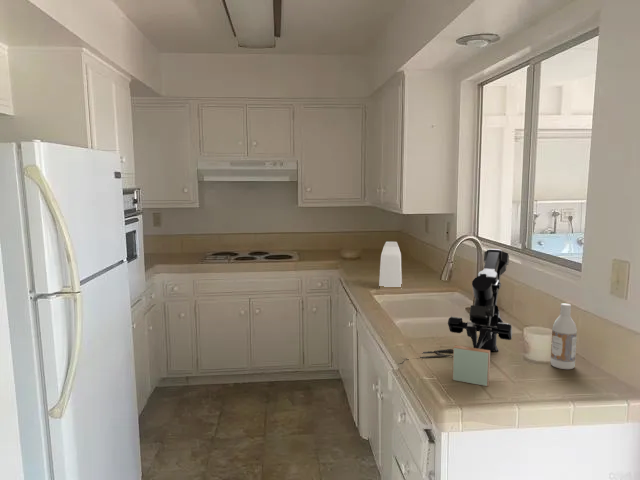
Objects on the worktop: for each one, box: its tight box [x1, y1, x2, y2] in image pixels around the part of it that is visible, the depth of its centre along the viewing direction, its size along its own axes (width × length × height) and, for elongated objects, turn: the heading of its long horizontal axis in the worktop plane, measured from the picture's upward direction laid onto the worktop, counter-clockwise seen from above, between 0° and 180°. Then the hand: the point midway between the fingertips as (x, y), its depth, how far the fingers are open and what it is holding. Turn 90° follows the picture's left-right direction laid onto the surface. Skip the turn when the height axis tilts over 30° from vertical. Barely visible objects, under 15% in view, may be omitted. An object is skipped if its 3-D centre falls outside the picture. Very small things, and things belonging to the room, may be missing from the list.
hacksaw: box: [392, 348, 453, 365], centre depth 163 cm, size 24×10×1 cm, turn 97°
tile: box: [452, 344, 491, 387], centre depth 142 cm, size 2×10×10 cm, turn 63°
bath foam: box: [550, 302, 578, 370], centre depth 155 cm, size 7×7×20 cm
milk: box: [378, 241, 403, 287], centre depth 274 cm, size 12×12×26 cm
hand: (475, 352), depth 148 cm, fingers closed
